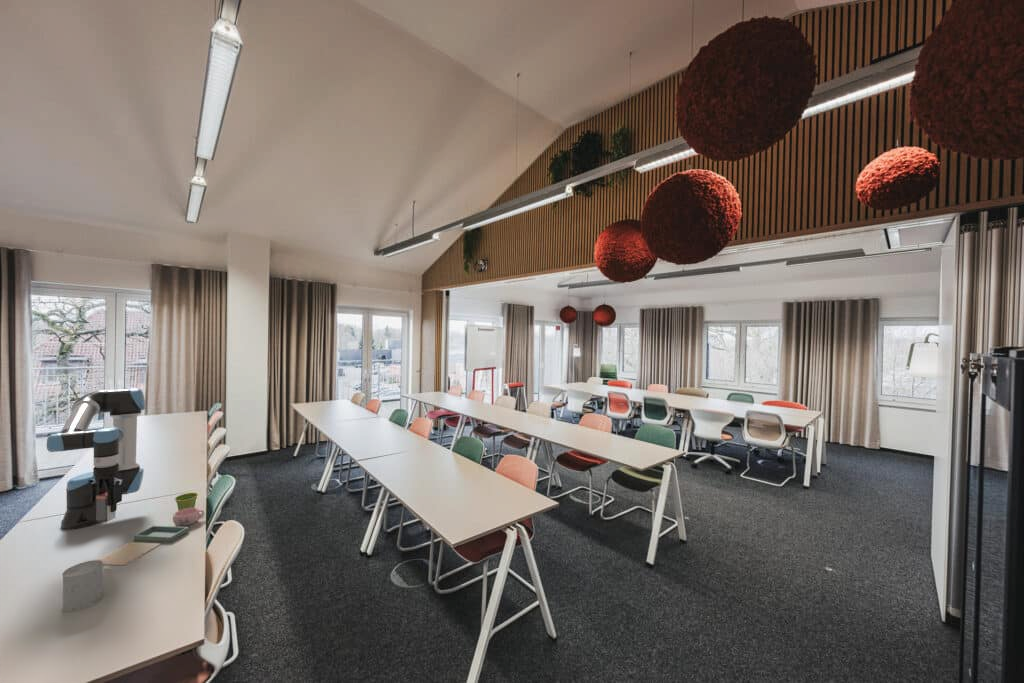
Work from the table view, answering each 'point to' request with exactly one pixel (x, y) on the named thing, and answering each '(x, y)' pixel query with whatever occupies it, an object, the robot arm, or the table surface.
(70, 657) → the table surface
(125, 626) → the table surface
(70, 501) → the robot arm
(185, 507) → the plant pot
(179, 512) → the mug
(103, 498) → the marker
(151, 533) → the tray
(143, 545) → the tan board
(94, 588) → the grey stone cylinder
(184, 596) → the table surface
